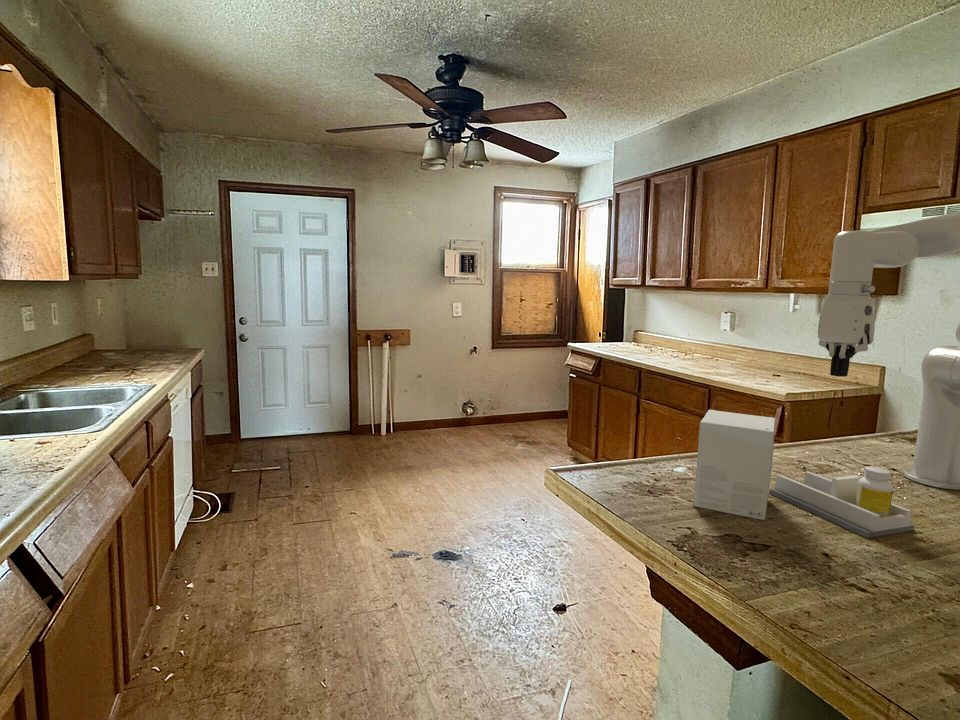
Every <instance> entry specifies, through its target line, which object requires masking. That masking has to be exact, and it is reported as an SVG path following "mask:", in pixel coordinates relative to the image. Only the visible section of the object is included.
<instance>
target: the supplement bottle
mask: <svg viewBox="0 0 960 720" xmlns="http://www.w3.org/2000/svg"><path fill="white" fill-rule="evenodd" d="M891 473H892V472H891V470H888V469H886V468H883V467H879V466H872V465H871V466H865V468H864V473H863V475H864V476H863V477H861V478H860V480H859V483H858V490H857V497H856V504H855V505H856V506H859V507H861V508H863V509H866V510H868V511H871V512H873V513H876V514H878V515H880V517H886V516H889V514H890V507H891V503H892V500H893V499H892V498H893V492H894V486H893V484H892V483H891V482H890V479H891V476H892V475H891Z"/></svg>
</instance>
